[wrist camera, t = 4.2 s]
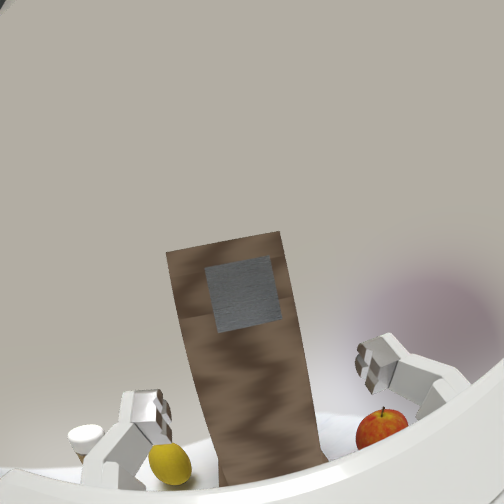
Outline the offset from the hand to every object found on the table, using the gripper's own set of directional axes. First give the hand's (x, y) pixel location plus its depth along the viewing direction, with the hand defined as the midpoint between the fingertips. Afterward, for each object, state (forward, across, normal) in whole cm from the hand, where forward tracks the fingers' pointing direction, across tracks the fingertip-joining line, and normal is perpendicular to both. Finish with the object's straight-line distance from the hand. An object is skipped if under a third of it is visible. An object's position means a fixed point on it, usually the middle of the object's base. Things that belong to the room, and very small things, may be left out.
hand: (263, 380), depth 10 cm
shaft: (+13, 0, +6) cm, 15 cm away
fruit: (+3, -14, +28) cm, 31 cm away
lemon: (+7, +13, +30) cm, 33 cm away
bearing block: (+4, 0, +28) cm, 29 cm away
